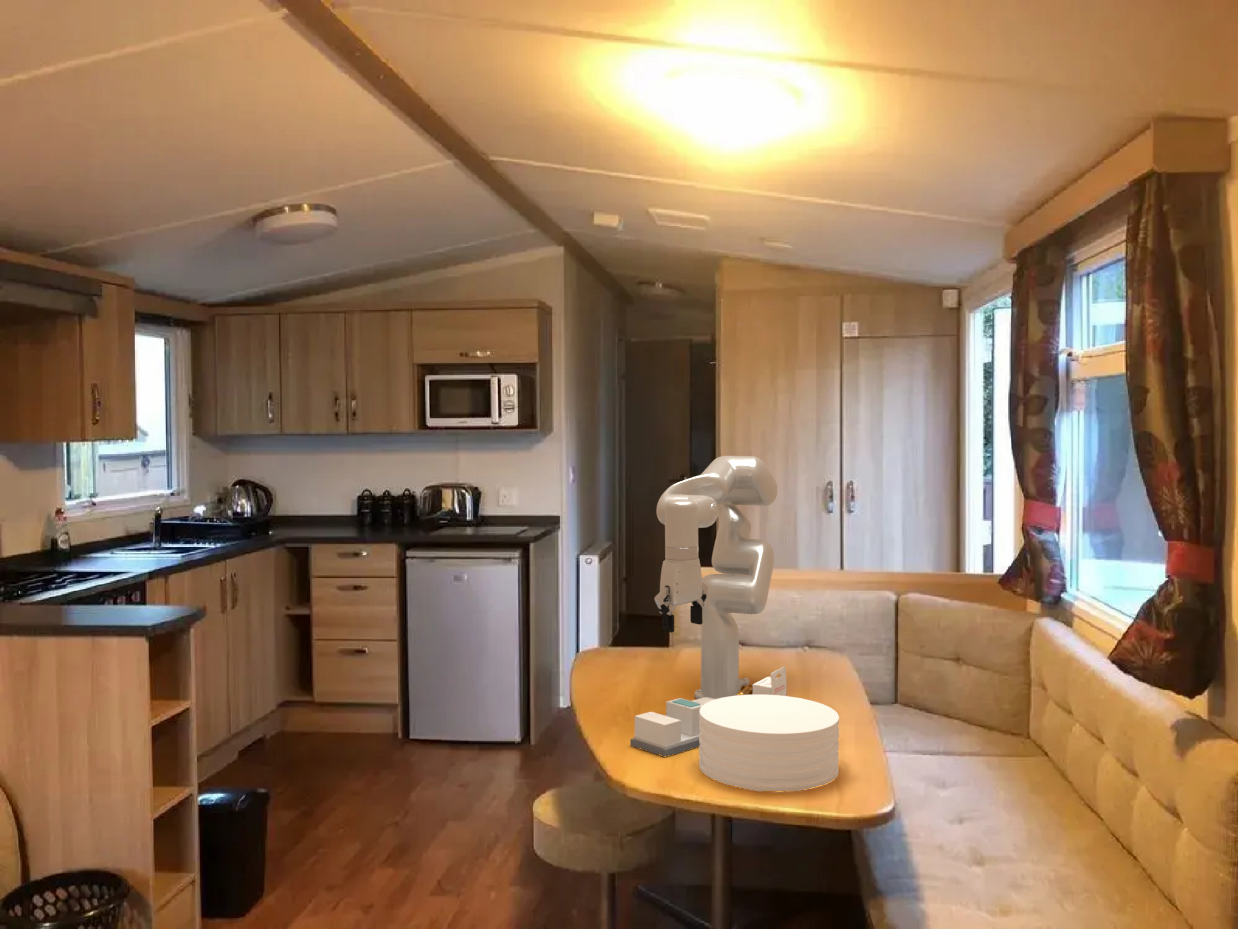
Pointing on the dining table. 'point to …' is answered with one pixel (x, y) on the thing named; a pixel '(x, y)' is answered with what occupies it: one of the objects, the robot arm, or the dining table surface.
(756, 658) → the dining table surface
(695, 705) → the block
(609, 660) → the dining table surface
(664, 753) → the rail board
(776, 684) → the ink cartridge box
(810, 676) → the dining table surface
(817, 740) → the plate stack
